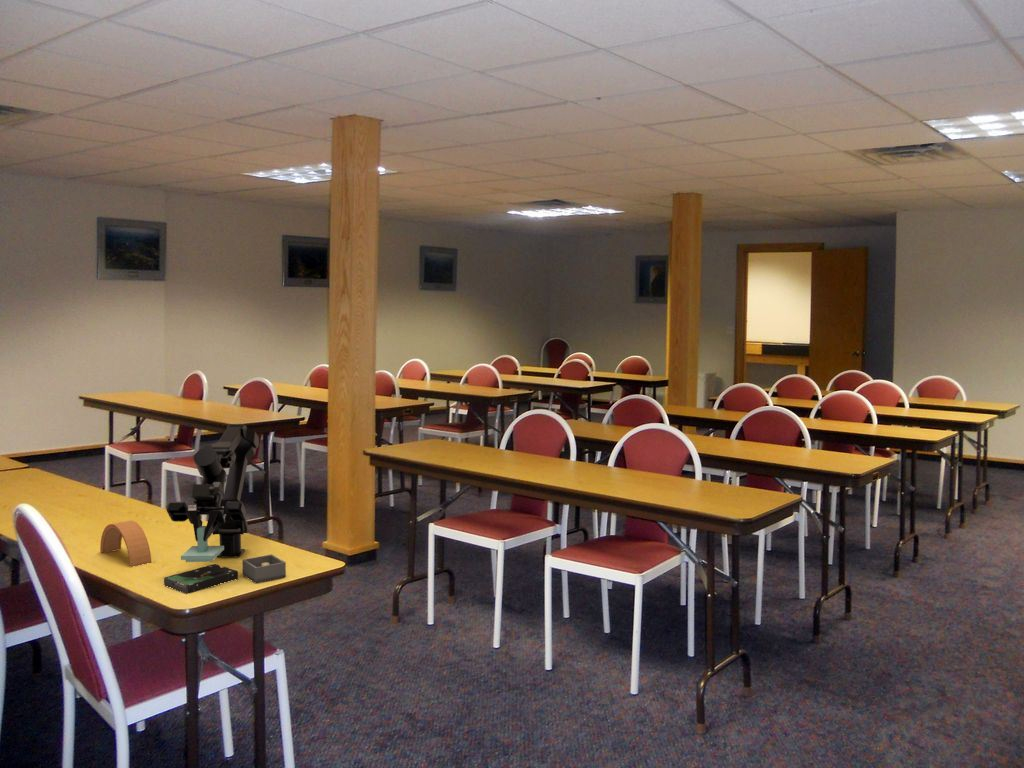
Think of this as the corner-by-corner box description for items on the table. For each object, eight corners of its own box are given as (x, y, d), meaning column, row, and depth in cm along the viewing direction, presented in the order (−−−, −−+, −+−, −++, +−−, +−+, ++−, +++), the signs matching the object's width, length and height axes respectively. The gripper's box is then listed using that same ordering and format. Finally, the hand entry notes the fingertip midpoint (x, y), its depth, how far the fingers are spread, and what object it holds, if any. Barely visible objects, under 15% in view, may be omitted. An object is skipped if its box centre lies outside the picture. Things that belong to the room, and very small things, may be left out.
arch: (130, 568, 233) (128, 531, 232) (100, 553, 247) (98, 518, 246) (151, 563, 237) (150, 527, 236) (121, 548, 251) (119, 514, 250)
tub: (242, 574, 227) (242, 559, 227) (272, 568, 232) (271, 554, 232) (255, 583, 220) (255, 568, 220) (285, 577, 225) (285, 562, 225)
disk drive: (214, 573, 230) (163, 587, 218) (214, 563, 230) (162, 576, 218) (238, 581, 224) (187, 595, 212) (238, 570, 224) (187, 584, 212)
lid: (192, 552, 224) (191, 523, 224) (224, 552, 225) (223, 522, 224) (181, 563, 215) (180, 532, 215) (213, 562, 216) (212, 531, 215)
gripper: (167, 470, 221) (153, 524, 211) (242, 470, 222) (231, 523, 212) (178, 494, 230) (165, 547, 220) (250, 493, 231) (240, 546, 221)
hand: (200, 540), depth 218 cm, fingers closed on lid
